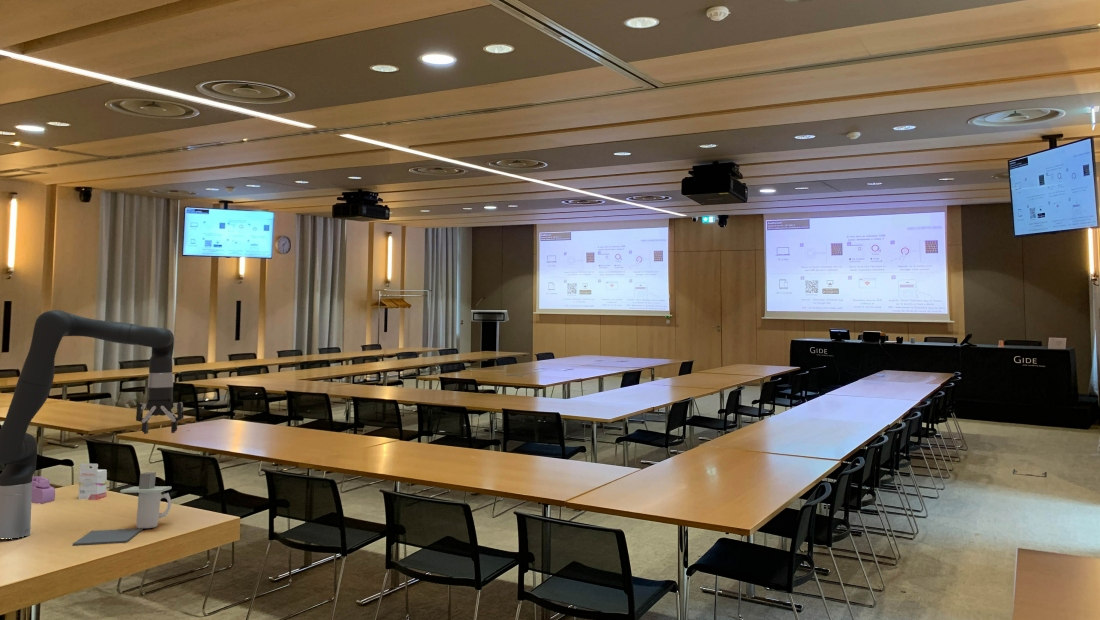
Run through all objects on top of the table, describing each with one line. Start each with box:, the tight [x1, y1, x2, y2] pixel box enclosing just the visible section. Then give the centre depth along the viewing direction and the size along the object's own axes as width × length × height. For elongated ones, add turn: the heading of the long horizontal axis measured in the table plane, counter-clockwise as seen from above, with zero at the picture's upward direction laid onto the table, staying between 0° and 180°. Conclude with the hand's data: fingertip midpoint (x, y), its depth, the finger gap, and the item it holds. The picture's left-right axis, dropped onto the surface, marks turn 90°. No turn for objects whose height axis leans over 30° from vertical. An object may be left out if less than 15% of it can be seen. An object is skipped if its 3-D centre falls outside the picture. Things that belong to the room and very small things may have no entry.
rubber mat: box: [72, 527, 144, 547], centre depth 224 cm, size 15×15×1 cm
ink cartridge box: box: [78, 462, 108, 501], centre depth 277 cm, size 9×5×15 cm, turn 81°
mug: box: [135, 492, 172, 529], centre depth 237 cm, size 10×7×12 cm, turn 120°
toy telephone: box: [31, 475, 56, 505], centre depth 274 cm, size 18×6×10 cm, turn 68°
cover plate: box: [119, 471, 172, 494], centre depth 236 cm, size 12×12×6 cm
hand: (159, 433), depth 241 cm, fingers open, 8 cm apart
